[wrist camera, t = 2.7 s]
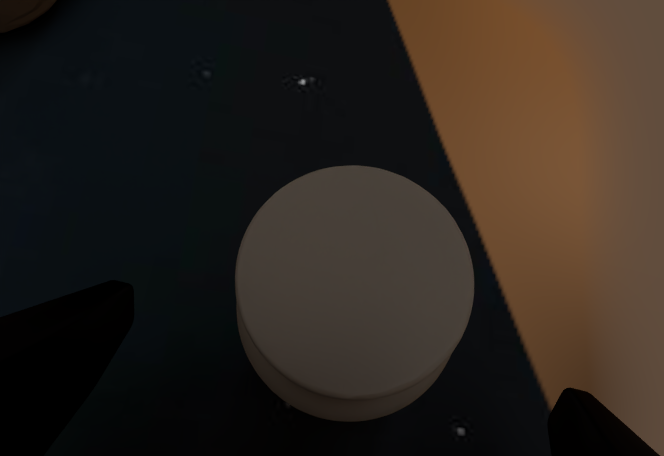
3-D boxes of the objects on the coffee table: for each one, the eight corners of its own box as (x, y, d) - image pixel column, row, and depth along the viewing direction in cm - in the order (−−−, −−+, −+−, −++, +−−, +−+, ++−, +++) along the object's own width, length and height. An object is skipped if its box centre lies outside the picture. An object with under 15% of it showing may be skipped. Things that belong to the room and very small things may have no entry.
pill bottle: (402, 263, 19) (483, 140, 10) (416, 407, 17) (534, 426, 8) (266, 267, 19) (215, 145, 9) (265, 414, 17) (198, 442, 7)
